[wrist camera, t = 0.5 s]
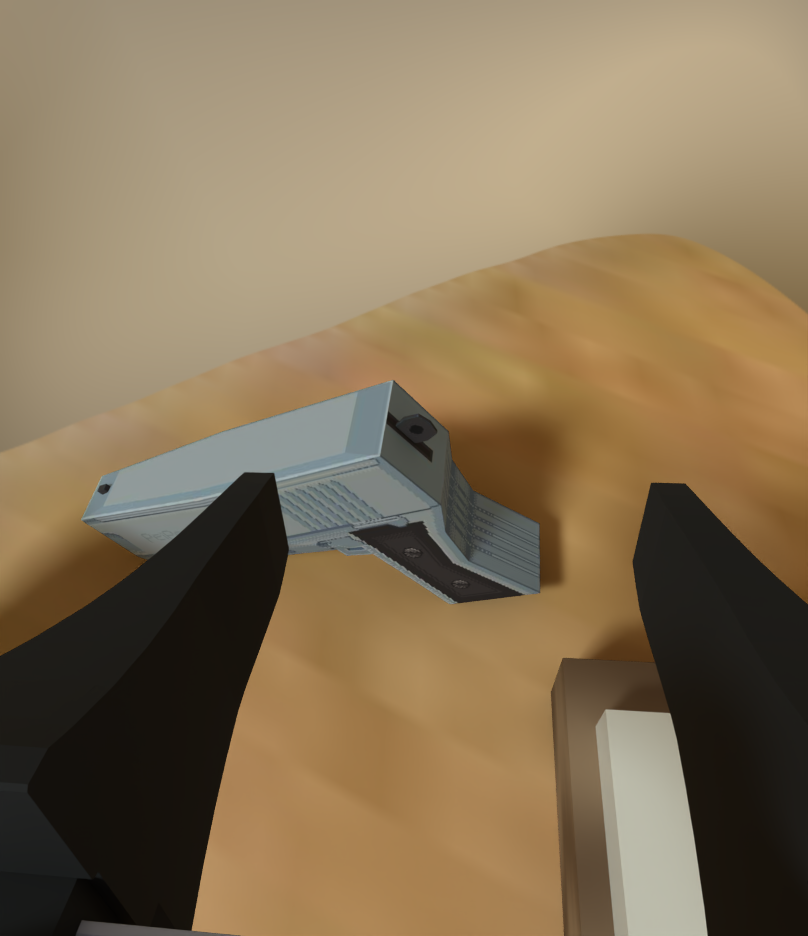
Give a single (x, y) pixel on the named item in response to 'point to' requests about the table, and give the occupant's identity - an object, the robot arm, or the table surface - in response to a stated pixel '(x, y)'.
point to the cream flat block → (648, 827)
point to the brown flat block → (590, 778)
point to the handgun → (340, 494)
